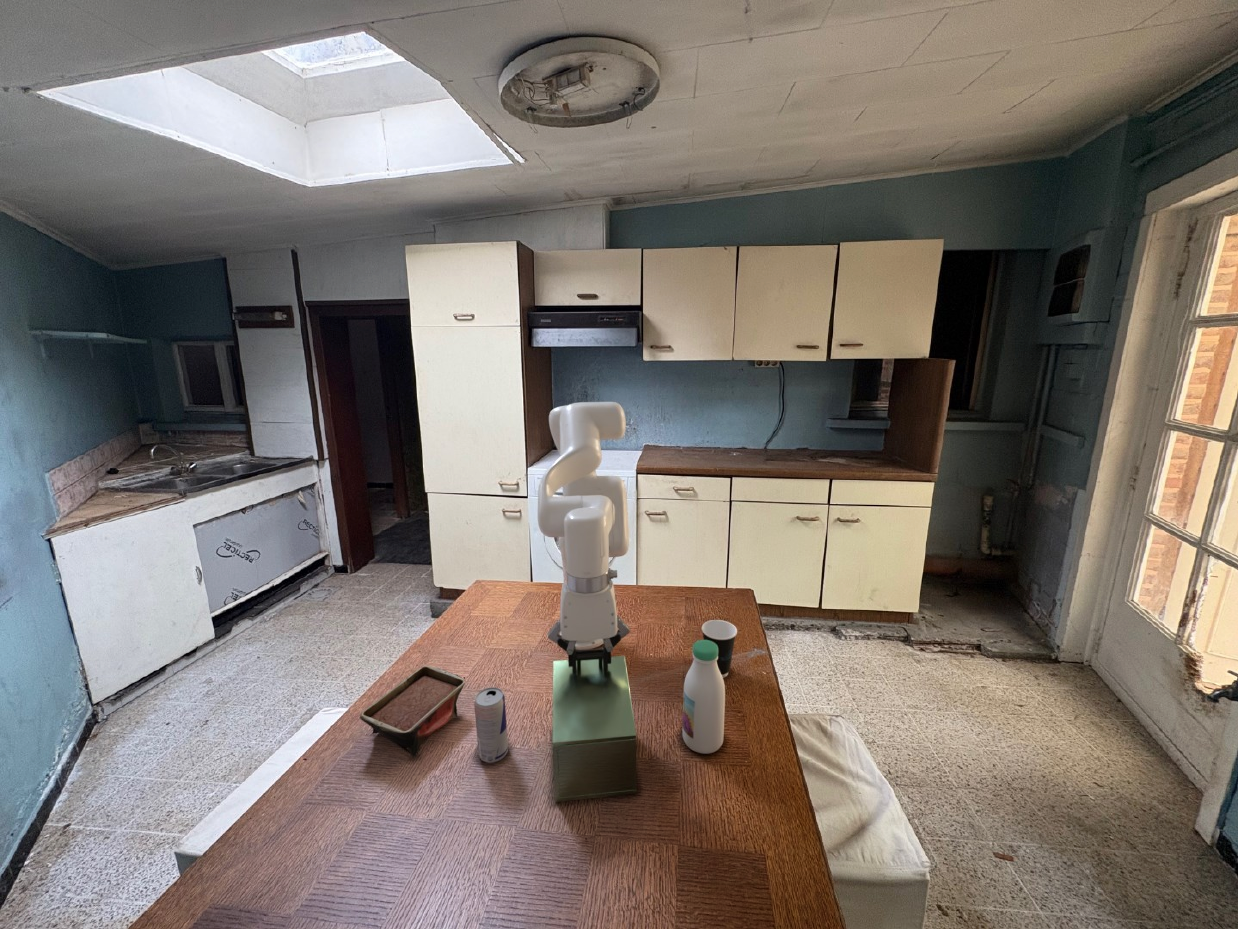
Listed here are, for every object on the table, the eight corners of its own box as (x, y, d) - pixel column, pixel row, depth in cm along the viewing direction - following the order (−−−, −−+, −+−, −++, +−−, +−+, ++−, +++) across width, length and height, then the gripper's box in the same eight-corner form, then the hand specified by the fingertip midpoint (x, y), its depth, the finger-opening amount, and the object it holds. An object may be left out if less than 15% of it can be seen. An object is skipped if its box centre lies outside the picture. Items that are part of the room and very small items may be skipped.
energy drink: (512, 742, 95) (508, 687, 93) (503, 765, 90) (498, 707, 87) (484, 740, 96) (480, 685, 93) (474, 763, 91) (469, 705, 88)
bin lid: (553, 663, 95) (552, 644, 92) (624, 658, 96) (625, 639, 94) (552, 746, 80) (551, 725, 78) (636, 738, 82) (637, 718, 79)
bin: (556, 732, 98) (554, 684, 95) (625, 726, 99) (624, 678, 97) (555, 802, 83) (552, 747, 80) (636, 793, 84) (636, 739, 82)
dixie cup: (703, 658, 120) (704, 617, 118) (737, 665, 118) (739, 622, 115) (697, 678, 113) (698, 635, 111) (732, 686, 111) (734, 641, 108)
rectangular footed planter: (474, 722, 103) (473, 675, 103) (400, 773, 88) (399, 718, 87) (425, 705, 110) (424, 660, 110) (348, 750, 94) (347, 698, 94)
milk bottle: (725, 729, 98) (729, 638, 93) (720, 759, 91) (724, 662, 86) (686, 720, 100) (688, 631, 96) (678, 749, 93) (680, 653, 89)
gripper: (632, 566, 92) (632, 652, 97) (539, 571, 90) (544, 658, 95) (638, 585, 85) (638, 677, 90) (537, 591, 83) (542, 685, 88)
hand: (589, 666), depth 92 cm, fingers closed on bin lid, 5 cm apart
